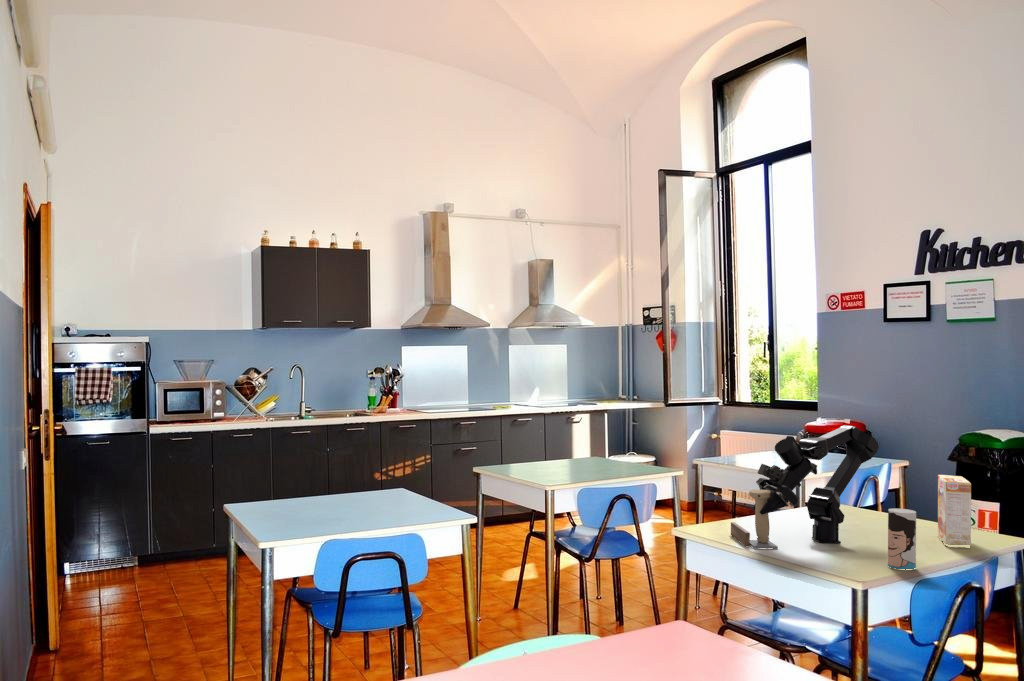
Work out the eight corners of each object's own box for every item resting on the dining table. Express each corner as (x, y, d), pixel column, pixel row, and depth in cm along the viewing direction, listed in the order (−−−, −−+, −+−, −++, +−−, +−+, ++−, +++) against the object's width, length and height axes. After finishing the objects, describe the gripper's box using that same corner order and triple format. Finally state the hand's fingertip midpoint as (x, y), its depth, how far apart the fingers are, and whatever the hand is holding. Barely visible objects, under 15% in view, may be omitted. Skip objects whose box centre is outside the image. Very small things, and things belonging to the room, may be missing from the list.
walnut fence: (734, 535, 255) (734, 522, 255) (749, 546, 240) (749, 532, 240) (730, 535, 255) (730, 522, 255) (745, 546, 240) (745, 532, 240)
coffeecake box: (936, 536, 257) (937, 474, 258) (962, 538, 255) (962, 475, 255) (944, 547, 243) (944, 481, 244) (971, 549, 241) (972, 482, 241)
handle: (772, 545, 238) (770, 493, 238) (750, 543, 241) (747, 492, 241) (776, 540, 242) (773, 490, 242) (753, 538, 245) (751, 489, 245)
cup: (888, 563, 223) (888, 507, 223) (915, 566, 220) (916, 510, 220) (887, 568, 217) (887, 511, 217) (915, 572, 214) (916, 514, 214)
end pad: (768, 542, 245) (768, 540, 245) (777, 549, 237) (777, 546, 237) (745, 542, 245) (745, 539, 245) (754, 549, 237) (754, 546, 237)
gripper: (762, 451, 251) (727, 487, 250) (788, 458, 232) (750, 497, 231) (787, 477, 252) (752, 513, 250) (815, 486, 233) (777, 525, 232)
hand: (757, 511), depth 241 cm, fingers open, 5 cm apart
